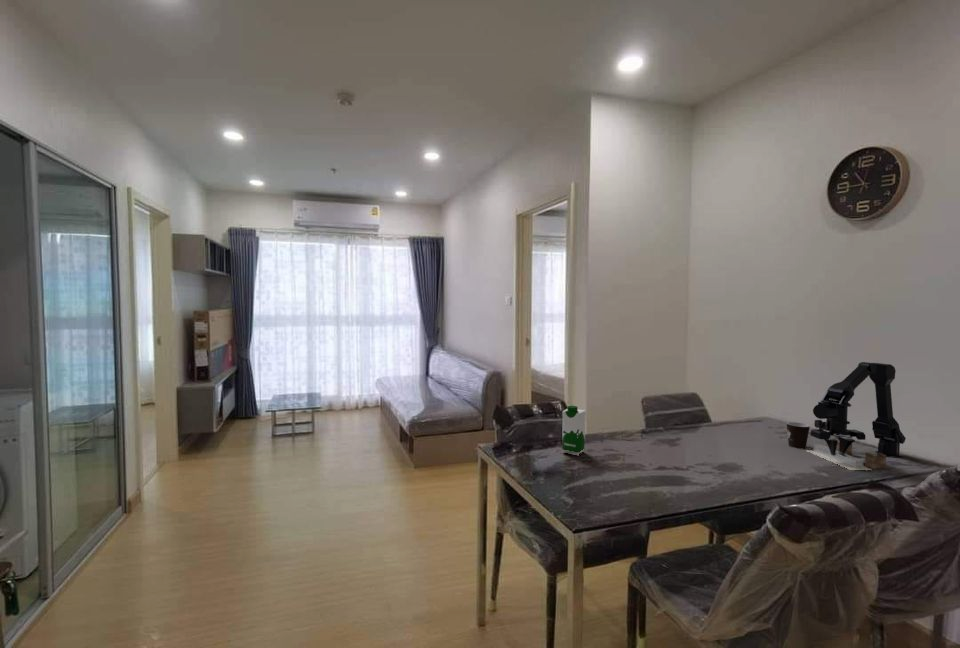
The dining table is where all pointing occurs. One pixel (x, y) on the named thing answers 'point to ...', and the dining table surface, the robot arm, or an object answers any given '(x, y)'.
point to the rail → (839, 456)
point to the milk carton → (573, 429)
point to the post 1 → (848, 451)
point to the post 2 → (875, 460)
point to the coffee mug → (797, 434)
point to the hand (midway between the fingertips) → (836, 455)
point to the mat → (836, 461)
